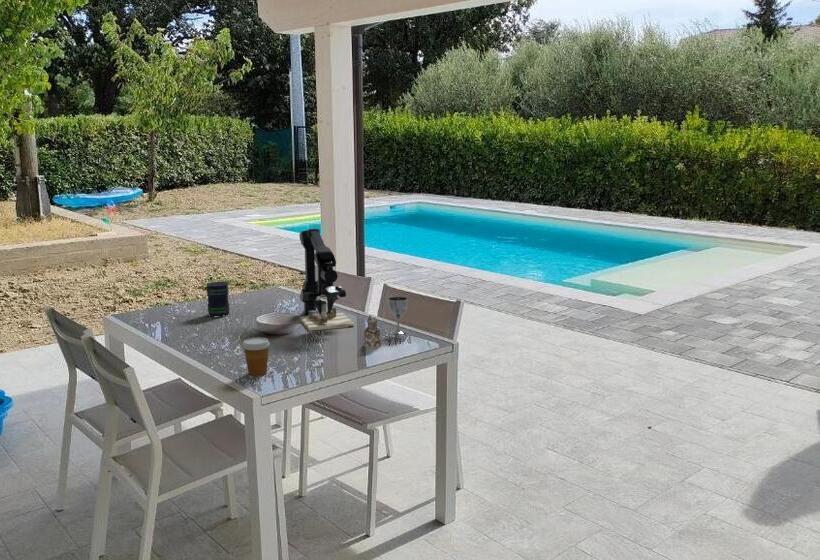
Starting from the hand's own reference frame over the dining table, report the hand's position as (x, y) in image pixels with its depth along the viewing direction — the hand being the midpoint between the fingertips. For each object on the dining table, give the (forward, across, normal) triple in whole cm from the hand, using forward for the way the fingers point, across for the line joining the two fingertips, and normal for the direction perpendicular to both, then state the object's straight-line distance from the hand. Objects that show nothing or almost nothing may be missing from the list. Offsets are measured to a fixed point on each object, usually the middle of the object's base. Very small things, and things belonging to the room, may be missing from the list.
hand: (324, 313), depth 330 cm
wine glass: (+5, +20, -27) cm, 35 cm away
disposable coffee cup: (+7, -50, -42) cm, 66 cm away
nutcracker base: (+6, +4, +6) cm, 9 cm away
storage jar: (+7, -29, +50) cm, 59 cm away
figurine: (+6, +1, -37) cm, 38 cm away
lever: (+4, 0, +6) cm, 8 cm away
